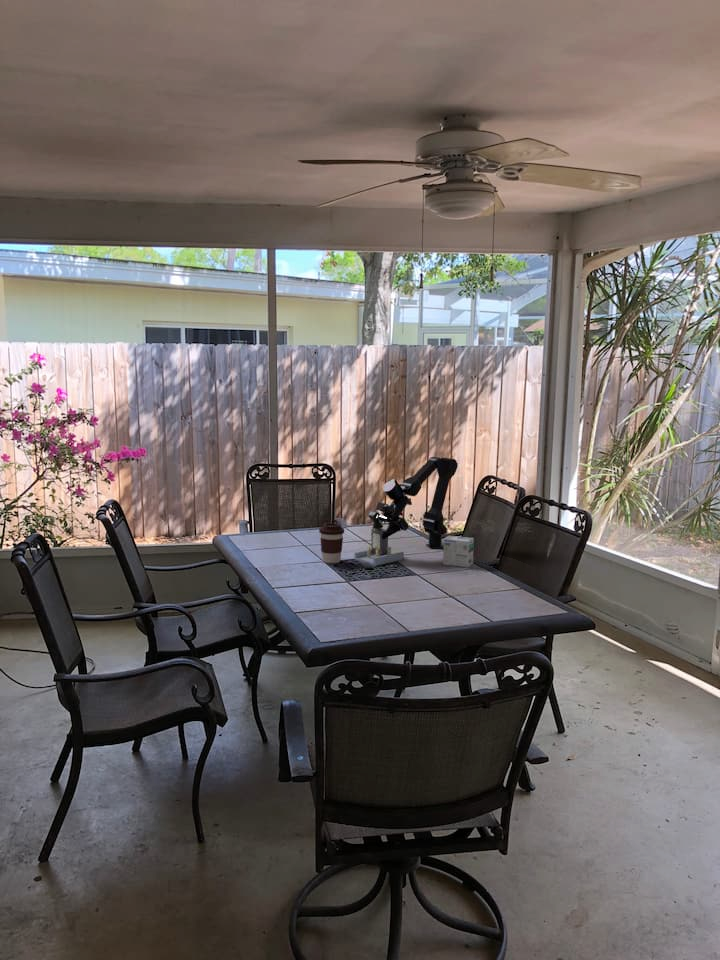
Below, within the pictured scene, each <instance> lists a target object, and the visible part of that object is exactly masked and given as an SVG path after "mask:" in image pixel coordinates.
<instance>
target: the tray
mask: <svg viewBox="0 0 720 960" xmlns="http://www.w3.org/2000/svg"><path fill="white" fill-rule="evenodd" d="M354 560H355V561H357V562H360V563H365V564H367V565H371V566H375V567H376V566H380V565H384V564H389V563H393V562H398V561H402V560H404V551H398V552H394V553H392V546H388V555H384V556H380V555H379V550H376V554H372V553H371V546H367V549H364V550H360V551H354Z"/></svg>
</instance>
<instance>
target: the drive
mask: <svg viewBox="0 0 720 960" xmlns="http://www.w3.org/2000/svg"><path fill="white" fill-rule="evenodd" d="M385 531H386V529H384V528H374V529H373V528H371V533H372V534H370V536H371V540H370V541H371V544H370V545H371V546H370V549H371V553H372V554H376V550H379V555H380V556H384V555H388V547H389V537H387V538H385V539H383V538H382V537H383V535H384V533H385Z"/></svg>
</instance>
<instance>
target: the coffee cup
mask: <svg viewBox="0 0 720 960" xmlns="http://www.w3.org/2000/svg"><path fill="white" fill-rule="evenodd" d="M318 531H319V534H320V539H319V540H320V551H321V560H322V562H323V563H325V564H338V563H340V562H341V561H342V560H341V559H342V557H341V555H342V551H343V543H344V542H343V540H344V538H343V534H344V533H345V528H344V527H342V525H341V524H340V523H336V522H326V523H324V524H323V525H322V526H321V527H319V529H318Z"/></svg>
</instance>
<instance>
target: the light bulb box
mask: <svg viewBox="0 0 720 960" xmlns="http://www.w3.org/2000/svg"><path fill="white" fill-rule="evenodd" d="M474 540H475V538H474V537H465V536H456V535H448V536H446V537H444V538H443V546H444V548H443V551H442V552H443V555H442V556H443V557H442V558H443V559H442V562H443V563H442V565H444V566H445V565H446V566H452V567H453V566H454V567H460V568H461V567H462V568H470V567H471V566H472V565H473V564H474V543H475V542H474Z"/></svg>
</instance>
